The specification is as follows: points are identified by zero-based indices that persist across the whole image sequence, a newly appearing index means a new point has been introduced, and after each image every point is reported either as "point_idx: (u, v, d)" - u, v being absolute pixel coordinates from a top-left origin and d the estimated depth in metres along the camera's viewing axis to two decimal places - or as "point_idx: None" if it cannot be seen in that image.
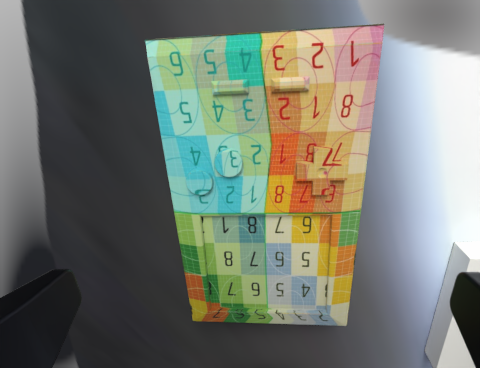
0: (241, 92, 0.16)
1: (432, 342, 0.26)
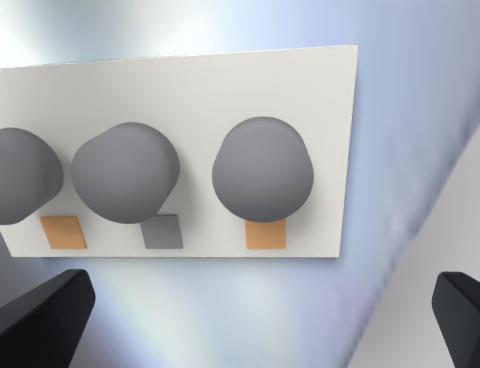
0: None
1: None
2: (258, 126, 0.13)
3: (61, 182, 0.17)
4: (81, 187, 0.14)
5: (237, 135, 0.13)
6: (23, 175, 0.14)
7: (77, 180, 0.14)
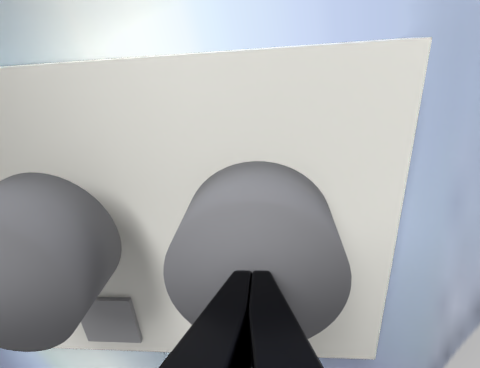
0: None
1: None
2: (247, 191, 0.07)
3: None
4: None
5: (206, 210, 0.07)
6: None
7: None
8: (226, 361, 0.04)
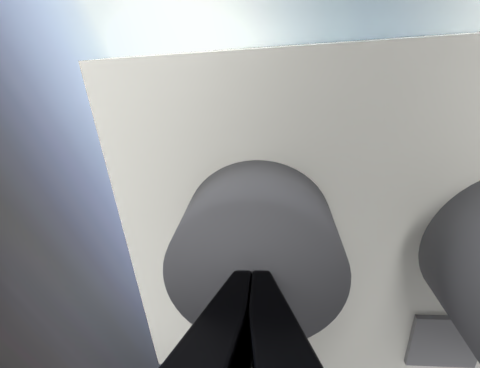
0: None
1: None
2: None
3: None
4: None
5: None
6: (343, 268, 0.07)
7: None
8: (226, 361, 0.04)
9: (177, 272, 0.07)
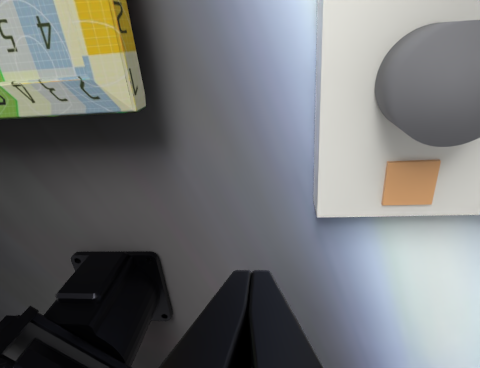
0: None
1: (315, 175, 0.17)
2: None
3: None
4: None
5: None
6: None
7: None
8: (226, 361, 0.04)
9: (406, 83, 0.11)
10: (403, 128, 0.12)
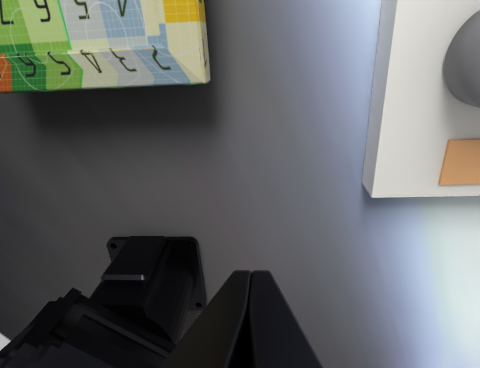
0: None
1: (368, 155, 0.17)
2: None
3: None
4: None
5: None
6: None
7: None
8: (226, 361, 0.04)
9: None
10: None
